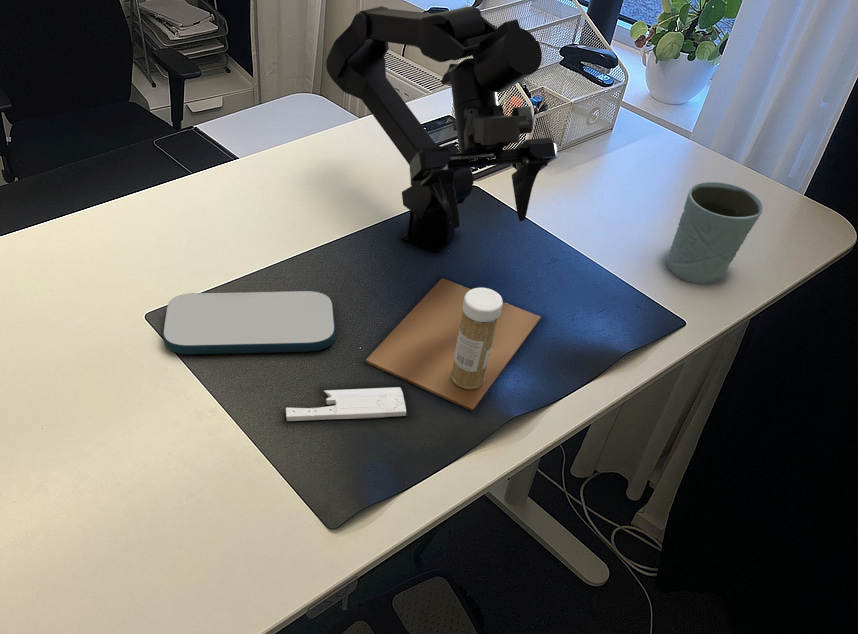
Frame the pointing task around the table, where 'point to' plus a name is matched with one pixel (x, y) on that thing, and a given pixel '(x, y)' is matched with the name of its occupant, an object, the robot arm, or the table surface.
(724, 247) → the green ceramic cup
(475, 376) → the sprinkles bottle
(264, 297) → the external hard drive
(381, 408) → the white plastic blade
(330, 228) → the table surface
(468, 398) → the cork placemat
